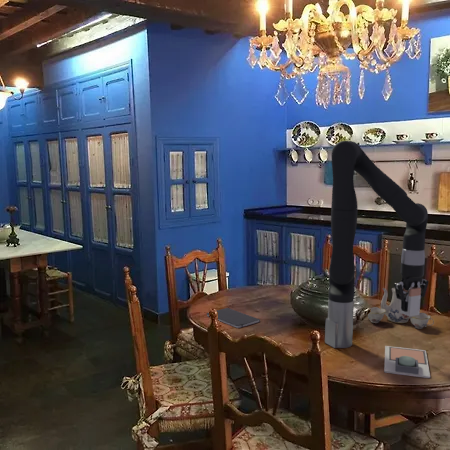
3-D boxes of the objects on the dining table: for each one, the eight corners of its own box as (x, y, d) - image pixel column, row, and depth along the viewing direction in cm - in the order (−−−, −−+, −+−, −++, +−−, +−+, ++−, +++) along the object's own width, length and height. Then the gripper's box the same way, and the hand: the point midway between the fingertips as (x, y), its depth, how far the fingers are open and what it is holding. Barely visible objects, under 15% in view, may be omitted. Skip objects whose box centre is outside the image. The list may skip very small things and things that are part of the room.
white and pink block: (409, 316, 174) (411, 289, 173) (400, 312, 178) (401, 286, 177) (419, 314, 176) (421, 288, 175) (409, 311, 180) (411, 285, 179)
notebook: (260, 322, 216) (227, 310, 232) (260, 319, 216) (227, 307, 232) (237, 329, 208) (205, 316, 224) (237, 325, 208) (205, 313, 224)
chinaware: (361, 328, 213) (363, 291, 209) (364, 312, 229) (365, 277, 225) (433, 335, 205) (436, 297, 201) (431, 318, 220) (434, 282, 216)
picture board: (430, 378, 163) (430, 370, 163) (384, 372, 167) (384, 364, 167) (425, 351, 184) (426, 345, 184) (385, 347, 188) (385, 340, 188)
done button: (415, 368, 165) (415, 363, 165) (398, 366, 167) (399, 361, 167) (414, 362, 170) (414, 357, 170) (398, 360, 172) (399, 355, 171)
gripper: (405, 266, 168) (402, 316, 171) (436, 262, 174) (433, 310, 177) (388, 261, 175) (386, 309, 177) (419, 258, 181) (417, 304, 184)
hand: (410, 309), depth 177 cm, fingers closed on white and pink block, 4 cm apart
